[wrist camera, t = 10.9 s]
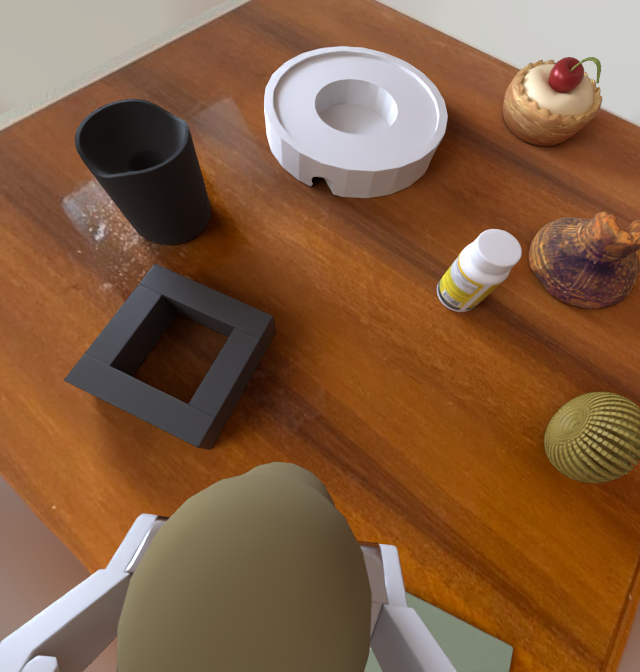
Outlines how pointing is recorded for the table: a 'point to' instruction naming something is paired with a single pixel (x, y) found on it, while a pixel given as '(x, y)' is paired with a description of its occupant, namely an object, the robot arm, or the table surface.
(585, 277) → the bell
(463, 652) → the mat
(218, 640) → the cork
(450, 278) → the supplement bottle
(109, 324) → the holder stand
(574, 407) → the sculpture
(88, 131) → the pen holder
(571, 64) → the pastry
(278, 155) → the ashtray
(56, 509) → the table surface
